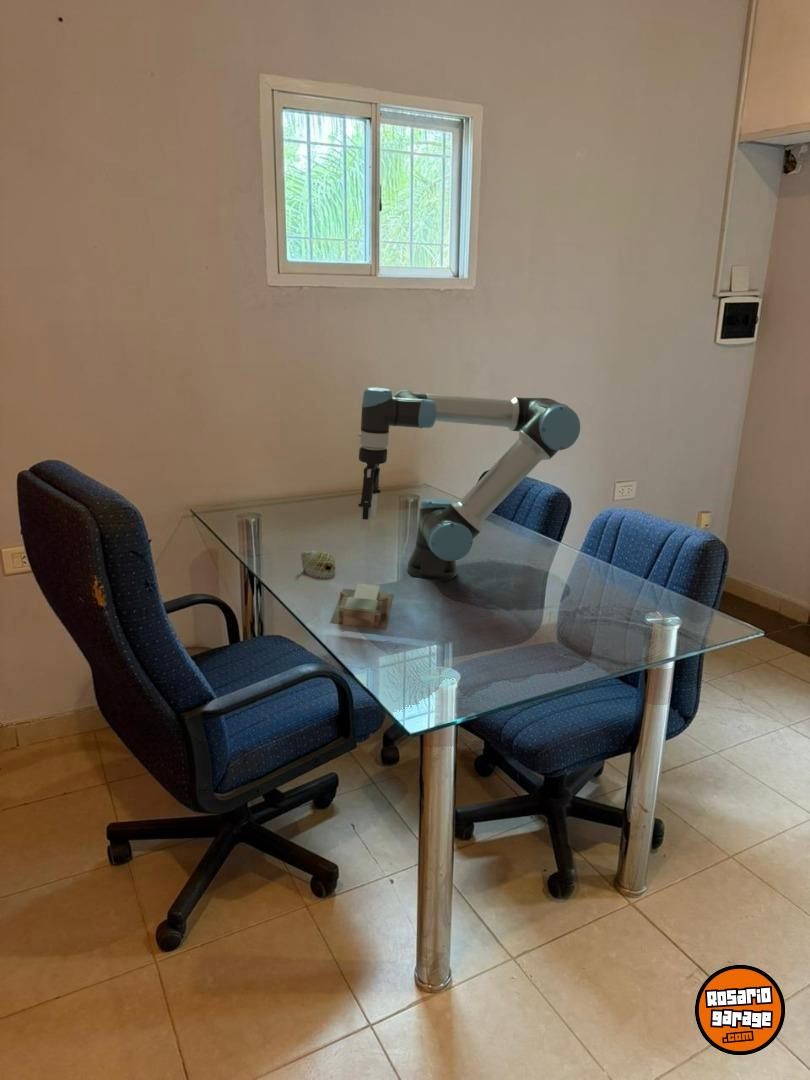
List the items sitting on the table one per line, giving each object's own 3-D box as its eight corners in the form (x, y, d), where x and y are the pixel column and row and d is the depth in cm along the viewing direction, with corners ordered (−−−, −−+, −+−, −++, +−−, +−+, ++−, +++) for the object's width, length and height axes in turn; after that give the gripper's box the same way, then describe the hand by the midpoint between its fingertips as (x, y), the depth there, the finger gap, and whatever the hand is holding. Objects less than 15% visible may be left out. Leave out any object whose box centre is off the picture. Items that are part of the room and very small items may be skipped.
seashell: (335, 582, 211) (321, 550, 209) (305, 591, 214) (291, 560, 211) (344, 568, 221) (330, 538, 218) (315, 578, 223) (301, 548, 221)
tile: (379, 592, 206) (379, 586, 205) (375, 608, 195) (375, 601, 195) (357, 590, 206) (358, 583, 205) (352, 605, 195) (352, 598, 195)
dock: (393, 598, 206) (395, 580, 204) (385, 634, 184) (387, 613, 182) (342, 592, 206) (344, 573, 205) (329, 627, 185) (331, 606, 183)
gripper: (365, 437, 211) (360, 509, 218) (352, 454, 188) (347, 534, 194) (392, 439, 211) (386, 511, 218) (382, 457, 187) (376, 538, 194)
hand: (368, 522), depth 206 cm, fingers open, 13 cm apart
